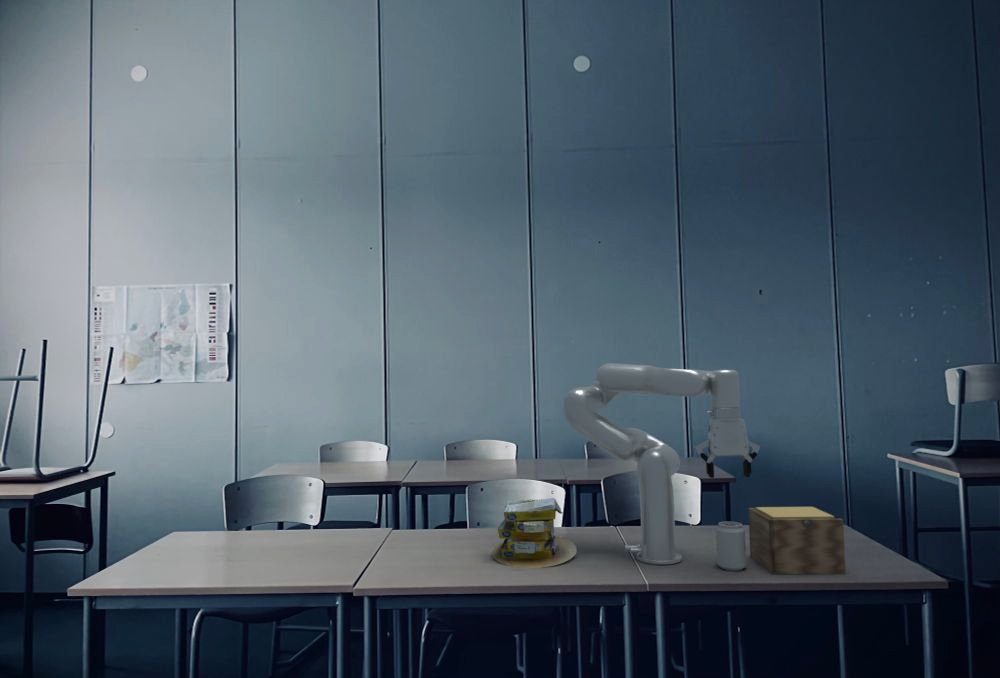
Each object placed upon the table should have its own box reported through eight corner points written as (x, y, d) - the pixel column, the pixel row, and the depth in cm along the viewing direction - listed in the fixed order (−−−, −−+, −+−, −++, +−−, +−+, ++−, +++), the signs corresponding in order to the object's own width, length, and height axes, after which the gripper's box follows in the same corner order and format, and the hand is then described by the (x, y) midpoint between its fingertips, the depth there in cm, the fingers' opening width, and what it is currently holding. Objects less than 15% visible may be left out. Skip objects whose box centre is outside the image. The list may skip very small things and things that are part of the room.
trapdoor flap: (773, 520, 180) (773, 516, 180) (755, 510, 194) (755, 507, 194) (834, 520, 179) (834, 516, 179) (812, 510, 193) (812, 506, 193)
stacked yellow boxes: (562, 571, 184) (561, 509, 185) (479, 563, 193) (478, 504, 194) (585, 550, 207) (584, 494, 208) (509, 544, 216) (508, 491, 217)
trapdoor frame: (773, 575, 177) (770, 520, 178) (749, 556, 195) (747, 507, 196) (847, 574, 176) (844, 520, 177) (816, 556, 195) (814, 506, 196)
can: (745, 564, 187) (743, 520, 188) (747, 572, 180) (745, 526, 181) (716, 563, 189) (715, 519, 190) (717, 570, 182) (716, 525, 183)
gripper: (698, 415, 184) (700, 479, 182) (762, 414, 183) (765, 478, 182) (691, 414, 191) (693, 475, 190) (753, 413, 190) (756, 474, 189)
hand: (729, 476), depth 186 cm, fingers open, 9 cm apart
